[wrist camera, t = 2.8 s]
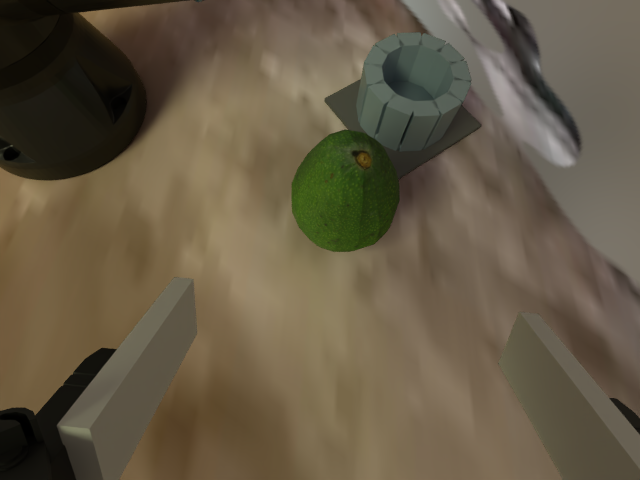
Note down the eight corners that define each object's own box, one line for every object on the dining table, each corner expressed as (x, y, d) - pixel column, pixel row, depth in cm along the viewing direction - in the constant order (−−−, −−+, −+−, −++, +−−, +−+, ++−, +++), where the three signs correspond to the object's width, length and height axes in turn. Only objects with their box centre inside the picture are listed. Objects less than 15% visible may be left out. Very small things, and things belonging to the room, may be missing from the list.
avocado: (300, 273, 30) (297, 216, 18) (287, 190, 32) (277, 94, 21) (393, 258, 30) (444, 194, 19) (373, 178, 33) (407, 79, 22)
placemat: (324, 101, 36) (324, 98, 35) (409, 55, 38) (410, 52, 38) (392, 182, 33) (393, 180, 32) (479, 127, 35) (481, 125, 35)
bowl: (338, 100, 35) (343, 59, 31) (408, 62, 37) (423, 18, 32) (395, 167, 33) (410, 133, 28) (466, 122, 35) (492, 84, 30)
